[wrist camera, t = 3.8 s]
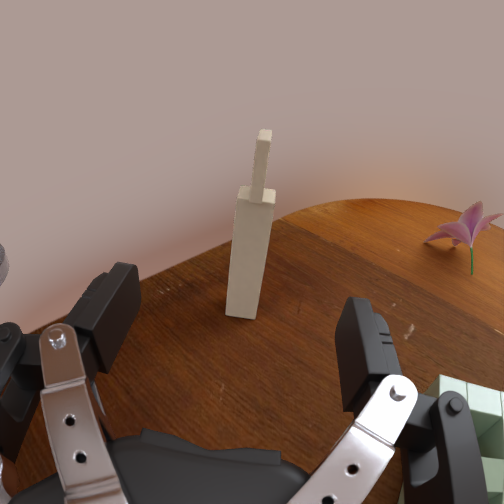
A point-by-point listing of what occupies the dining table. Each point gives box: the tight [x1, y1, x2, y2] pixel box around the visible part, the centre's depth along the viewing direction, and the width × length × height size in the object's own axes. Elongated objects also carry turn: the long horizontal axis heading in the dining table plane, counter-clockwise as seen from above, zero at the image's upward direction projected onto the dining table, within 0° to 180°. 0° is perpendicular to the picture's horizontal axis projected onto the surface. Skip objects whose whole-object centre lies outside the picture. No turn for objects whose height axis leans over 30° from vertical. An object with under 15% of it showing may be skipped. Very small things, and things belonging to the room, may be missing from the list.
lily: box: [424, 201, 503, 275], centre depth 36 cm, size 12×12×10 cm
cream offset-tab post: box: [225, 129, 276, 319], centre depth 22 cm, size 2×4×14 cm, turn 175°
